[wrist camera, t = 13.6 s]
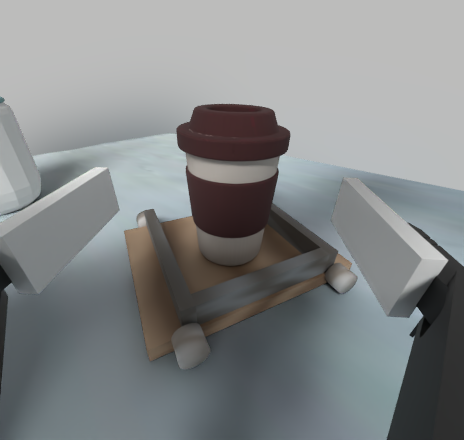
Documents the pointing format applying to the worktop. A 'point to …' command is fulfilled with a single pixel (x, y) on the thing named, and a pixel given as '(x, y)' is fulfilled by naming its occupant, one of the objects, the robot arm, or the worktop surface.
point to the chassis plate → (220, 280)
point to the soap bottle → (15, 165)
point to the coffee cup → (231, 177)
